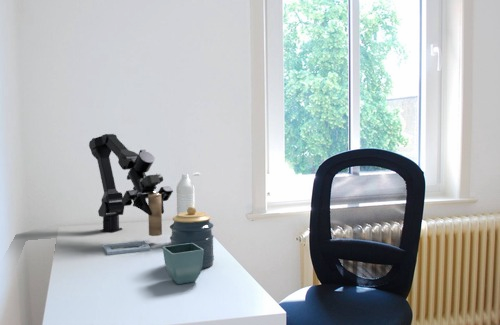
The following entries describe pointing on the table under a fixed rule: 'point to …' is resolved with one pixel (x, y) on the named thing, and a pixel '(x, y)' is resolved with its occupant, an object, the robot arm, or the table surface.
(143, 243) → the keyhole plate
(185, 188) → the water bottle
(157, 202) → the tan peg
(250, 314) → the table surface
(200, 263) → the flower pot
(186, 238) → the canister
